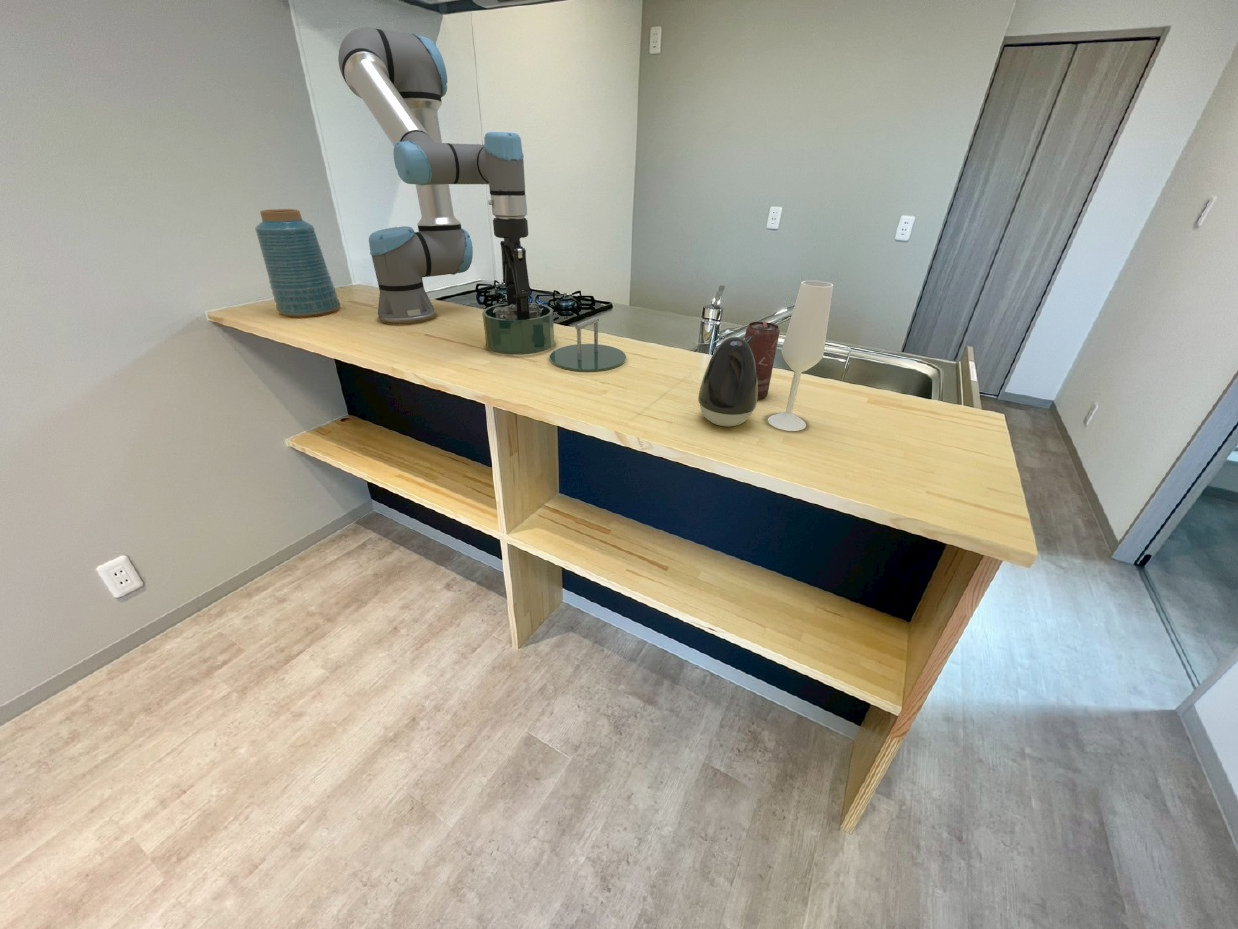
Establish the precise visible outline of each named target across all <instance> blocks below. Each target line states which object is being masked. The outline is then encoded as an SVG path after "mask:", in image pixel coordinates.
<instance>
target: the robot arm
mask: <svg viewBox="0 0 1238 929" xmlns="http://www.w3.org/2000/svg"><path fill="white" fill-rule="evenodd" d="M442 55H443V54H442V53H441V51H440V50H439V47H437V45H436V43H435V42H434V41H433V40H432V39H430V38H429V37H426V36H422V35H417V34H416V33H408V32H402V31H395V30H388V29H380V28H375V27H369V26H363V27H358V28H356V29H353V30H351V31H350V32H349V33H348V34H347V35H346V36H344V38H343V39H342V41H341V43H340V46H339V49H338V57H337V58H338V66H339V67H338V68H339V70H340V73H341V76H342V78H343V81H344V82H345V84H346V85H347V87H348V89H350V91H351V92H352V93H353V94H354V95H355V96H356V97H358V98H359V99H361V100H362V101H363V102H364V104H365V105H366V107H367V109H368V110H369V111H370V113H371V114H372V116H373V118H374V119H375V120H376V122H377V123H378V125H379V126H380V128H381V130H382V131H383V132H384V134H385V135H386V137H387V138H388V140H389V141H390V143H391V144H392V146H393V162H394V165H395V169H396V170H397V175H398V177H399V178H400V180H401V181H402V182H404V183H405V184H407V185H415V189H416V194H417V199H418V200H417V201H418V204H419V210H420V216H421V218H420V220H419V221H418V222H417V230H418V231H415V230H414V228H413V227H412V226H406V225H405V226H398V227H397V226H393V227H388V228H383V229H379V230H376V231H374V232H372V233H371V234H369V236H368V244H369V245H368V246H369V254H370V256H371V260H372V264H373V269H374V272H375V277H376V282H377V285H378V291H379V297H378V305H377V316H378V321H379V322H380V323H383V324H387V325H395V326H398V325H399V326H401V325H402V326H403V325H415V324H421V323H425V322H429V321H431V320H434V319H435V318H436V311H435V307H434V305H433V303H432V301H431V300H430V297H429V296H428V294H427V292H426V290H425V287H424V282H423V281H424V280H423V278H430V277H436V276H437V277H438V276H447V275H452V276H454V275H457V274H462V273H465V272H467V271H468V270H469V269H470V267H471V265H472V262H473V258H474V257H473V256H474V252H473V251H474V250H473V242H472V238H471V235H470V233H469V232H468V231H467V230H466V229H464V228H462V223H461V221H460V220H458V219H457V218H456V216H455V214H454V208H453V203H452V196H451V190H450V189H451V188H450V185H488V186H489V187H488V188H489V195H490V199H488V201H487V204H488V205H489V206H491V214H492V215H493V216H494V217H493V219H492V226H493V235H494V236H495V237H496V238H498V239H503V240H500V242H499V244H500V250H501V267H502V282H503V284H504V287H505V294H506V304H507V305H508V306H510V305H511V304H513V305H515V304H516V308H517V319H518V320H524V319H530V317H529V304H528V303H529V297H531V294H532V293H531V288H530V287H531V286H530V281H529V280H530V278H529V272H528V265H527V254H526V253H527V250H526V248H525V247H523V246H522V244H521V238H523V239H524V238H527V237H529V222H528V219H527V218H526V216H527V215H528V207H527V206H528V205H527V194H526V181H525V178H526V177H525V163H524V159H525V158H524V153H523V145H522V138H521V136H520V135H519V134H518V133H516V132H506V131H488V132H485V134H484V137H483V141H484V142H483V144H479V143H476V144H475V143H450V142H443V140H442V133H441V127H440V121H439V115H438V111H439V109H440V108H441V107H442V105H443V102H442V101H443V100H442V98H443V97H445V96H446V94H447V91H448V73H447V68H446V65H445V61H444V58H443V56H442Z"/></svg>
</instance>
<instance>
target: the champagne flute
mask: <svg viewBox="0 0 1238 929" xmlns="http://www.w3.org/2000/svg"><path fill="white" fill-rule="evenodd" d="M833 291H834V284H833V283H832V282H828V281H821V280H803V281H801V283H800V286H799V289H798V293H797V296H796V299H795V303H794V306H793V309H792V313H791V317H790V319H789V323H788V327H787V329H786V333H785V336H784V339H783V343H782V346H781V350H780V353H781V356H782V358H783V360H784V362H785V363H786V364H787V366H788V367H789V369H791V371H793V376H792V379H791V380H792V381H791V385H790V390H789V394H788V398H787V403H786V407H785V411H784V412H781V413H780V412H779V413H777V414H772V415H770V416H769V417H768V418H767V423H769V425H770V426H772V427H774V428H775V429H779V430H781V431H787V432H788V431H789V432H799V431H802V430H804V429H805V428H806V427H807V424H806V422H805V421H804V419H802V418H800V417H799V416H798V415H796V414H794V413H793V411H794V407H795V403H796V398H797V394H798V389H799V385H800V380H801V376H802V373H804V372H806V371H808V370H809V369H811V368H813V367H815V366H816V365H817V364H818V363H819V362H820V361H821V360H822V359H823V357H824V355H825V354H824V353H825V347H826V340H827V332H828V326H829V320H830V319H829V318H830V313H831V306H832V299H833V298H832V297H833Z"/></svg>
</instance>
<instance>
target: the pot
mask: <svg viewBox="0 0 1238 929" xmlns="http://www.w3.org/2000/svg"><path fill="white" fill-rule="evenodd" d="M531 303H532V302H531ZM532 304H534V305H535V306H537V305H538V306H539V308H540V309H542V308H543V309H542V310H541V311H542V312H540V317H538V318H533V319H524V320H506V319H497V318H496V312H495V313H493V310H494V309H495V308H496V307H505V306H508V305H507V303H501V304H500V303H499V304H495V305H492V306H488V307H487V308H485V309H483V311H482V313H481V315H482V322H483V331H484V336H485V338H484V339H485V346H486V349H487V350H490V351H492V352H494V353H498V354H502V355H510V356H511V355H513V356H514V355H517V356H519V355H530V354H531V355H532V354H537V353H543V352H545V351H548V350H550V349H552V348H553V347H554V346H555V323H554V309H553V308H551V307H550V306H548V305H545V304H540V303H536V302H535V303H534V302H533V303H532Z"/></svg>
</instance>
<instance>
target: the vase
mask: <svg viewBox="0 0 1238 929" xmlns="http://www.w3.org/2000/svg"><path fill="white" fill-rule="evenodd" d="M259 214H260V217H261V222H260V223H259V224H257V225H256V226H255V227H254V231H255V233H256V236H257V240H258V244H259V248H260V252H261V255H262V259H263V262H264V265H265V269H266V273H267V276H268V282H269V284H270V289H271V294H272V296H273V300H274V303H275V307H276V308H275V309H276V311H277V312H278V314H281V315H283V316H284V317H288V318H289V317H290V318H298V319H299V318H300V319H301V318H313V317H314V318H315V317H321V316H325V315H329V314H332V313H335V312H336V311H337V310H338V309H339V308H340V306H341V303H340V300H339V298H338V293H337V292H336V287H335V286H334V281H333V280H332V276H331V274H330V272H329V269H328V264H327V262H326V259H325V256H324V253H323V249H322V248H321V245H320V241H319V238H318V235H317V232H316V230H315V226H314V225H313V224H311V223H309V222H307V221H305V219H303V217H302V214H301V211H300V210H299V209H294V208H292V209H291V208H275V209H273V208H272V209H263V210H260V213H259Z"/></svg>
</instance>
